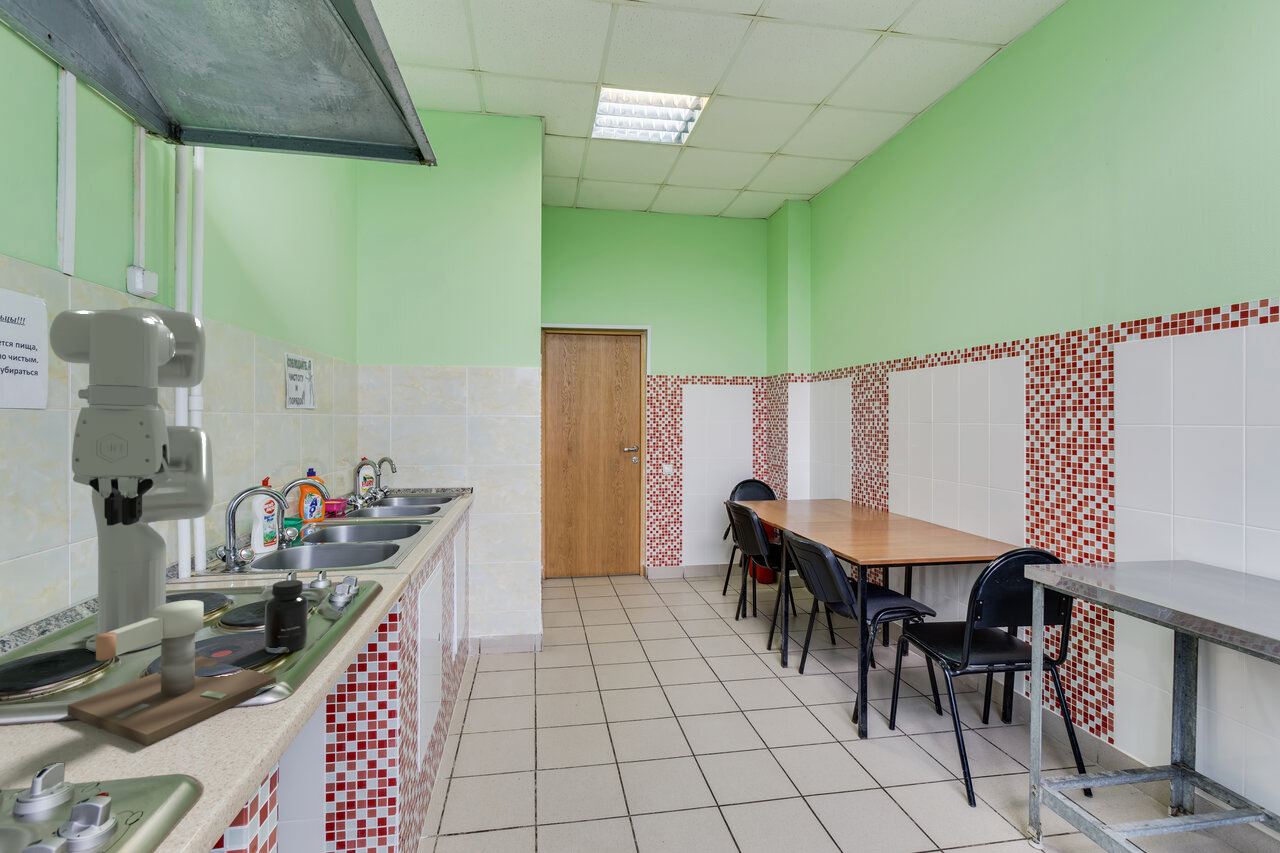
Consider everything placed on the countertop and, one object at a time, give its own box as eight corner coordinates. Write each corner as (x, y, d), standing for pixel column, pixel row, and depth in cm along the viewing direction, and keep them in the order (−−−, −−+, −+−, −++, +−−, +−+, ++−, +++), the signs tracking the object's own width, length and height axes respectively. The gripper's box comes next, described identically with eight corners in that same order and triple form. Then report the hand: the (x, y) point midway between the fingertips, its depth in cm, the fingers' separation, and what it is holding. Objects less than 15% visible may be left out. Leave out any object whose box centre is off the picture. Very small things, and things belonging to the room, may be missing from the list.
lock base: (67, 715, 83) (67, 643, 82) (201, 664, 100) (202, 604, 99) (146, 745, 76) (147, 668, 76) (275, 686, 93) (276, 622, 93)
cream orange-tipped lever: (181, 621, 91) (181, 598, 91) (213, 625, 90) (213, 602, 90) (79, 658, 77) (80, 631, 77) (116, 663, 76) (116, 636, 76)
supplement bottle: (287, 657, 104) (288, 590, 103) (254, 652, 105) (255, 587, 105) (315, 642, 110) (316, 579, 110) (285, 638, 112) (286, 576, 111)
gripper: (40, 396, 79) (39, 530, 80) (174, 400, 83) (172, 527, 84) (76, 396, 86) (75, 519, 87) (197, 400, 91) (196, 517, 91)
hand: (123, 522), depth 86 cm, fingers closed
